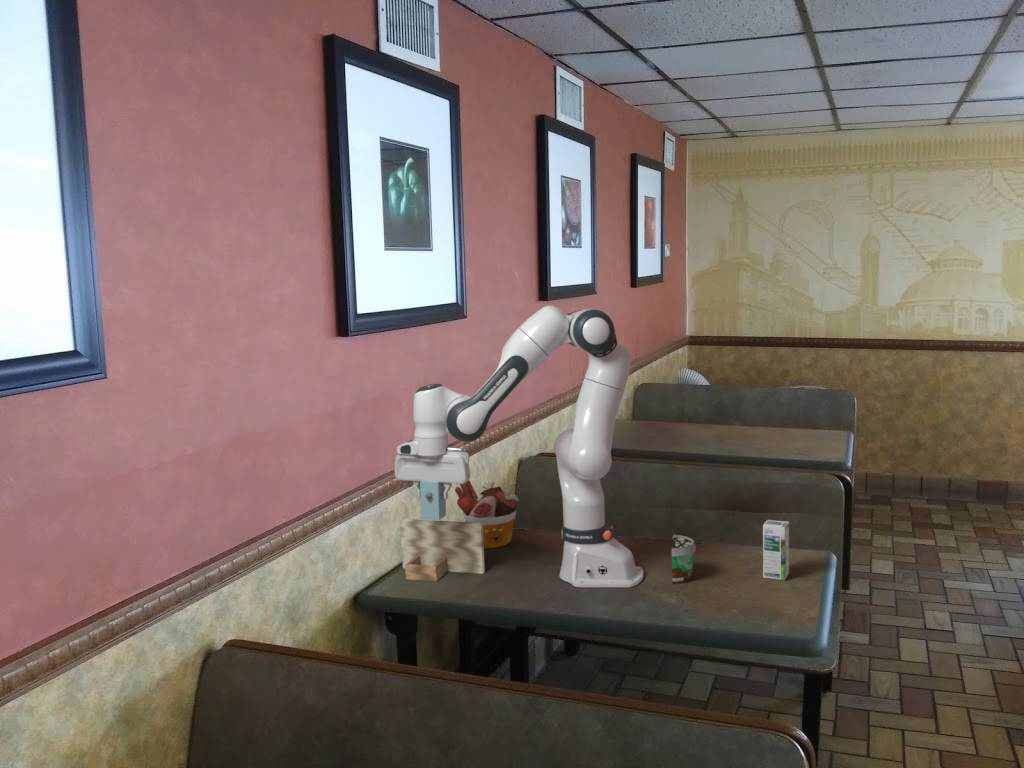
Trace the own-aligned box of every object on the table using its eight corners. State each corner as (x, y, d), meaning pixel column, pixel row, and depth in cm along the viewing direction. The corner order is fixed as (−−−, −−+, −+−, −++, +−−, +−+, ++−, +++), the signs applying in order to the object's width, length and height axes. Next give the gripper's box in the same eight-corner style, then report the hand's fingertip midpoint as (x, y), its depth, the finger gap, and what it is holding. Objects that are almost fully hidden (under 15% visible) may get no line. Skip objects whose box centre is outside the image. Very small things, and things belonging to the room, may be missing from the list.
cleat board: (484, 571, 258) (482, 522, 256) (473, 584, 249) (470, 533, 247) (405, 566, 265) (402, 518, 263) (390, 578, 256) (387, 528, 254)
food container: (696, 586, 240) (695, 549, 238) (672, 586, 241) (671, 548, 240) (696, 570, 252) (696, 534, 250) (673, 569, 253) (672, 534, 252)
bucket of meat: (531, 538, 286) (528, 475, 283) (506, 555, 271) (503, 488, 268) (474, 532, 295) (471, 470, 292) (447, 547, 280) (443, 483, 277)
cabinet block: (446, 515, 247) (445, 478, 246) (438, 521, 242) (436, 483, 241) (428, 513, 249) (427, 477, 248) (420, 519, 243) (418, 482, 242)
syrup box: (762, 578, 244) (762, 524, 242) (767, 571, 249) (767, 518, 247) (784, 581, 241) (784, 526, 239) (789, 573, 246) (789, 520, 244)
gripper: (473, 445, 243) (474, 497, 245) (400, 442, 249) (402, 492, 251) (464, 450, 237) (466, 503, 239) (390, 447, 243) (393, 498, 245)
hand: (433, 498), depth 245 cm, fingers closed on cabinet block, 5 cm apart
